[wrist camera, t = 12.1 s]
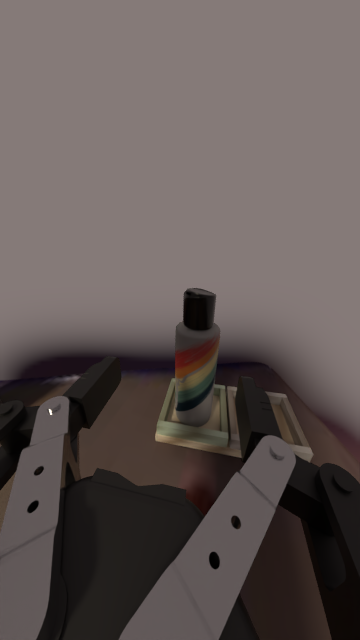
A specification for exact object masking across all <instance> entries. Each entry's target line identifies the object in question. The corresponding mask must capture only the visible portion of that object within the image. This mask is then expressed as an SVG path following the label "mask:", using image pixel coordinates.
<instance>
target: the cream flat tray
mask: <svg viewBox="0 0 360 640" xmlns="http://www.w3.org/2000/svg"><path fill="white" fill-rule="evenodd" d="M236 391H237V387H230V386H227V391H226V393H225V386H223V385H216V384H214V393H213V401H212V410H211V415H210V418H209V420H208V422H207V423H206V424H205V425H203V426H201V427H193V426H188V425H184V424H182V423H181V422H180V421H179V420H178V418H177V416H176V410H175V379H174V378H172V380H171V383H170V386H169V389H168V392H167V395H166V398H165V401H164V405H163V408H162V411H161V414H160V417H159V420H158V423H157V432H156V435H155V438H156V441H159V442H164V443H169V444H174V445H179V446H184V447H189V448H194V449H199V450H204V451H209V452H214V453H219V454H224V455H229V456H234V457H239V458H242V456H241V448H240V439H239V431H238V423H237V414H236V406H235V396H236ZM265 392H266V391H265ZM266 393H267V395H268V397H269V400H270V403H271V406H272V409H273V412H274V414H275V417H276V420H277V423H278V426H279V429H280V432H281V435H282V438H283V440H284V441H285V442H286V443H287V444H288V445H289V446H290V447H291V449H292V450H293V452H294V453H295V454H296V455H297V456H299V457H300V458H302V459H304V460H306V461H308V462H310V460H311V458H312V456H313V453H312V451H311V448H310V446H309V444H308V442H307V440H306V438H305V435H304V433H303V431H302V429H301V427H300V425H299V422H298V420H297V418H296V416H295V414H294V412H293V409H292V407H291V405H290V403H289V401H288V399H287V396H286V394H280V393H273V392H266Z"/></svg>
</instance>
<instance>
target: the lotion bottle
mask: <svg viewBox="0 0 360 640" xmlns="http://www.w3.org/2000/svg"><path fill="white" fill-rule="evenodd" d="M215 302H216V295H215V294H214V293H211V292H209V291H206V290H203V289H198V288H192V289H191V288H190V289H187V290H186V291H185V292H184V309H183V310H184V311H183V321H182V322H180V323H179V324H178V325H177V326H176V343H175V346H176V347H175V352H176V353H175V357H176V359H175V363H176V365H175V410H176V416H177V418H178V420H179V421H180V422H181V423H182V424H184V425H188V426H193V427H201V426H203V425H205V424H206V423H207V422H208V420H209V418H210V415H211V410H212V401H213V393H214V384H215V375H216V366H217V357H218V349H219V339H220V328H219V327H218V326H217V325H216V324H215V323H214V312H215Z"/></svg>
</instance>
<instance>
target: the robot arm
mask: <svg viewBox="0 0 360 640" xmlns="http://www.w3.org/2000/svg"><path fill="white" fill-rule="evenodd" d="M120 381H121V369H120V361H119V358H116V357H110V356H107V357H105V358H104V360H102V362H101V363H96V364H95V365H93V366H91V367H90V368H89V369H88V370H87V371H86V372H85V374H83V375H82V376H81V378H79V379H78V380H77V381H76V382H75V383H74V384H73V385H72V386H71V387H70V388H69V389H68V390H67V391H66V392H65V393H64V394H63V395H62V396H58V397H54V398H51V399H49V400H47V401H46V402H44V403H43V404H42V405H41V406H33V407H25V406H24V404H23V402H22V401H20V400H13V401H9V402H6V403H2V401H1V399H0V444H1V445H2V446H1V447H0V490H1V489H2V488H3V486H4V485H5V484H6V483H7V482H8V480H9V479H10V478H11V477H12V475H13V474H14V473H15V472H16V475H15V478H14V482H13V486H12V490H11V494H10V498H9V502H8V505H7V509H6V513H5V517H4V521H3V525H2V529H1V532H0V640H259V637H258V635H257V633H256V631H255V628H254V626H253V624H252V621H251V619H250V617H249V614H248V612H247V610H246V607H245V605H244V603H243V601H242V598H241V596H240V594H239V592H240V590H241V588H242V585H243V583H244V581H245V579H246V576H247V574H248V572H249V570H250V567H251V565H252V563H253V560H254V558H255V556H256V554H257V551H258V549H259V547H260V545H261V542H262V540H263V538H264V536H265V533H266V531H267V529H268V527H269V524H270V522H271V520H272V517H273V515H274V513H275V510H276V507H277V505H280V506H282V507H283V508H285V509H286V510H288V511H290V512H291V513H293V514H294V515H296V516H298V517H299V518H301V522H302V526H303V530H304V534H305V538H306V541H307V545H308V549H309V553H310V557H311V561H312V564H313V568H314V572H315V576H316V580H317V584H318V587H319V591H320V595H321V599H322V603H323V607H324V611H325V614H326V618H327V622H328V626H329V630H330V634H331V637H332V640H360V484H359V482H358V481H357V480H356V479H355V478H354V477H353V476H352V475H351V474H350V473H349V472H347V471H346V470H345V469H343V468H341V467H340V466H337V465H335V464H331V463H325V464H323V465H322V466H321V467H318V466H316V465H314V464H312V463H310V462H308V461H306V460H304V459H302V458H300V457H299V456H297V455H296V454H295V453H294V452H293V450H292V449H291V447H290V446H289V445H288V444H287V443H286V442H285V441H284V440H283V438H282V435H281V432H280V429H279V426H278V423H277V420H276V417H275V414H274V412H273V409H272V406H271V403H270V400H269V397H268V395H267V393H266V392H265V391H264V390H263V389H262V388H259V387H256V385H255V382H254V379H253V378H251V377H244V376H240V378H239V382H238V386H237V391H236V396H235V406H236V414H237V423H238V431H239V439H240V448H241V456H242V462H244V463H245V464H244V466H243V467H242V469H241V470H240V471H237V472H236V473H235V474H234V476H233V477H232V478H231V480H230V481H229V483H228V484H227V486H226V487H225V489H224V490H223V491H222V493H221V494H220V496H219V497H218V499H217V500H216V502H215V503H214V504H213V506H212V507H211V509H210V510H209V512H208V513H207V515H206V516H205V517H204V515H203V514H202V512H201V511H200V510H199V509H198V508H197V507H196V506H195V505H194V504H193V503H192V502H191V501H189V500H188V499H186V498H185V497H186V490H184V489H180V488H176V487H172V486H168V485H164V484H160V485H148V486H136V485H135V484H133V483H132V482H130V481H129V480H127V479H126V478H124V477H123V476H121V475H120V474H118V473H115V472H111V471H107V470H103V469H99V468H97V469H96V471H95V473H94V475H93V476H90V477H85V478H83V479H81V476H80V469H79V433H78V432H79V431H80V430H81V428H82V427H83V428H88V429H90V427H91V426H92V424H93V423H94V421H95V420H96V418H97V417H98V415H99V414H100V412H101V411H102V409H103V408H104V406H105V405H106V403H107V402H108V400H109V399H110V397H111V396H112V394H113V393H114V391H115V390H116V388H117V387H118V385H119V383H120ZM16 470H17V471H16Z"/></svg>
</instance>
